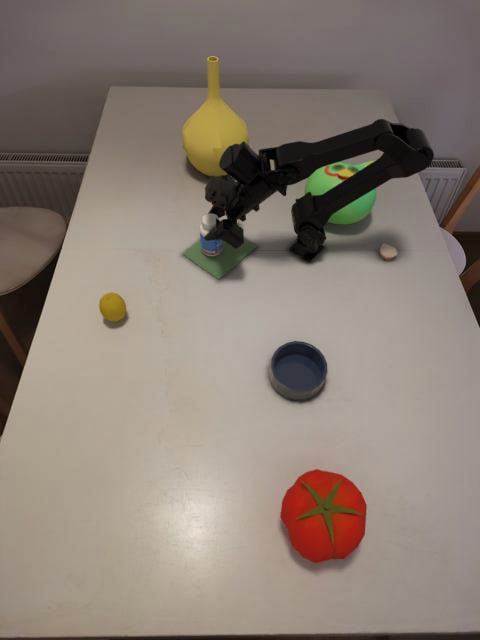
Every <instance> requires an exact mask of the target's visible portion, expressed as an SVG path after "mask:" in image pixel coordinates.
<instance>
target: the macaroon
mask: <svg viewBox="0 0 480 640" xmlns="http://www.w3.org/2000/svg"><path fill="white" fill-rule="evenodd" d="M379 256H380V258H382V259H383V260H387V261H388V260H389V261H391V260H394V259H396V257H397V256H398V250H397V249H396V247H394V246H393V245H390V244H387V243H382V244H381V246H380V248H379Z"/></svg>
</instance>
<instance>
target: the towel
mask: <svg viewBox="0 0 480 640" xmlns="http://www.w3.org/2000/svg"><path fill="white" fill-rule="evenodd" d="M256 248H257V246H256V245H255V244H254V243H252V242H250V241H249V240H247V239H246V238H244V245H242V246H241V247H239V248H238V249H235V248H234V247H232V246H231V245H229V244H228V243H226V242H225V241H223V250H222V252H221V253H220V254H218V255H216V256H208V255H206V254H204V253H203V252H202V249H201V239H199V240H198V241H197V242H195V243H194V244H193V245H192V246H191V247H189V248H188V249H186V250H185V251H184V252H183V253H182V255H183V256H184V257H185V258H187V260H189V261H191V262H192V263H193V264H195V265H196V266H198V267H199V268H201V269H202V270H203V271H205V272H206V273H208V274H209V275H211V276H213V278H215V279H216V280H218V281H220V280H221V279H222V278H223V277H224V276H225V275H226V274H228V272H230V271H231V270H232V269H233V268H234V267H235V266H237V265H238V264H240V263H241V261H242V260H243V259H245V258H246V257H247V256H248V255H249V254H250V253H251V252H253V251H254V250H255V249H256Z"/></svg>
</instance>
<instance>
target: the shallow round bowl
mask: <svg viewBox="0 0 480 640" xmlns="http://www.w3.org/2000/svg"><path fill="white" fill-rule="evenodd" d="M327 375H328V362H327V360H326V357H325V354H323V353H322V351H321V350H320V349H319V348H318V347H316V346H314V345H313V344H311V343H309V342H306V341H300V340H293V341H287V342H286V343H284V344H282V345H279V347H278V348H277V349H276V350H275V351H274V352H273V354H272V356H271V359H270V366H269V380H270V383H271V385H272V387H273V389H274V390H275V391H276V393H278V394H279V395H281V396H282V397H284V398H286V399H288V400H291V401H305V400H309V399H311V398H313V397H314V396H316V395H317V394H318V393H319V392H320V390H321V389H322V387H323V385H324V383H325V381H326V377H327Z"/></svg>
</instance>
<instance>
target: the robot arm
mask: <svg viewBox="0 0 480 640" xmlns="http://www.w3.org/2000/svg"><path fill="white" fill-rule="evenodd" d="M375 151H379V152H382V154H381V156H380V157H378V158H376V159H375V160H376V161H374V162H373V163H371V164H369V165H368V166H366V167H365V168H363V169H362V170H360V171H358V172H357V173H355V174H354V175H352V176H351V177H349V178H348V179H346V180H344V181H343V182H341V183H340V184H338V185H337V186H335V187H333V188H332V189H330V190H329V191H327V192H326V193H324V194H322V195H312V193H311V192H308V193H306V194H305V193H304V195H303V196H301V197H299V198H296V199H295V202H294V203H293V204H292V205H291V209H290V214H291V221H292V225H293V226H292V227H293V232H294V234H295V235H297V236H296V241H295V242H294V243H293V244H292V245H291V246H290V247H289V252H291V253H292V254H295V255H297V256H298V257H299V258H301V259H303V260H304V261H306V262H308V263H311V262H312V261H313V260H314V259H315V258H316V257H318V255H320V253H321V252H322V251H323V250H324V249H325V246H324V245H323V244H324V243H325V242H326V240H327V235H326V231H325V226H326V225H327V223H329V222H328V220H329V219H330V217H331V216H332V215H333V214H334V213H335V212H337V211H339V210H340V209H342V208H344V207H345V206H347V205H349V204H350V203H352V202H354V201H355V200H357V199H359V198H360V197H362V196H364V195H365V194H367V193H369V192H370V191H372V190H374V189H375V188H376V189H377V188H379V187H380V186H382V185H383V184H385V183H387V182H388V181H390V180H393V179H403V178H410V177H412V176H414V175H417V174H418V173H420V172H423V171H425V170H426V169H427V168H429V167H430V166H431V164H432V163H433V160H434V157H435V152H434V150H433V148H432V146H431V144H430V141H429V140H428V137H427V135H426V133H425V132H424V130H422V129H420V128H414V127H410V126H408V125H405V124H404V123H399V122H391V121H389V120H386V119H385V118H379V119H376V120H374V121H373V122H372V123H370V124H366V125H364V126H361V127H358V128H355V129H352V130H348V131H345V132H343V133H340V134H336V135H334V136H330V137H327V138H324V139H321V140H319V141H314V142H308V141H301V140H299V141H293V142H287V143H282V144H280V145H279V146H273V147H267V148H261V149H258V151H257V152H258V153H257V152H256V151H254V150H253V149H252V148H251V147H250V145H249V143H248V144H247V143H245V142H242V143H241V144H240V145H239V144H233V145H232V146H231V145H230V146H229V147H228V148H227V149H226V150H225V152H224V153H223V155H222V156H221V159H220V162H219V166H220V168H221V169H222V170H224V171H225V172H226V173H227V175H222V176H221V177H215V176H209V179H208V181H207V183H206V185H205V187H204V199H205V200H206V201H207V202H208V203H211V205H212V207H211V208H210V210H209V211H208V213H207V214H209V213H212V214H215V215H217V216H218V217H219V220H218V219H216V226H215V227H214V228H213V229H212V230H211V231H209V232H208V233H207V234H206V236H205V237H204V239H205V240H206V241H210V240H218V239H221V240H223V241H225V242H226V243H228V244H229V245H231V246H232V247H234V248H235V249H238V248H239V247H241V246H242V245H244V239H245V234H244V228H243V227H241V226H240V225H238V220H239V221H241V222H242V223H244V222H245V221H247V215H248V214H249V213H250V212H252V211H254V212H256V213H257V212H258V211H260V209H261V207H260V205H261V204H262V203H263V202H265V201H266V200H267V199H269V198H270V197H271V196H273V195H274V194H276V193H277V192H278V193H280V194H281V195H282V197H286V196H287V189H288V186H293V185H296V184H298V183H300V182H302V181H304V180H308V179H309V177H310V176H311V175H312V174H313V173H314V172H315V171H316V170H317V169H319V168H322V167H324V166H327V165H331V164H334V163H337V162H339V163H341V162H343V161H347V160H350V159H353V158H357V157H360V156H363V155H366V154H369V153H373V152H375ZM271 161H273V166H274V169H272V165H271ZM232 178H233V179H232ZM223 217H226V218H223ZM220 218H222V219H221V220H220Z"/></svg>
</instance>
